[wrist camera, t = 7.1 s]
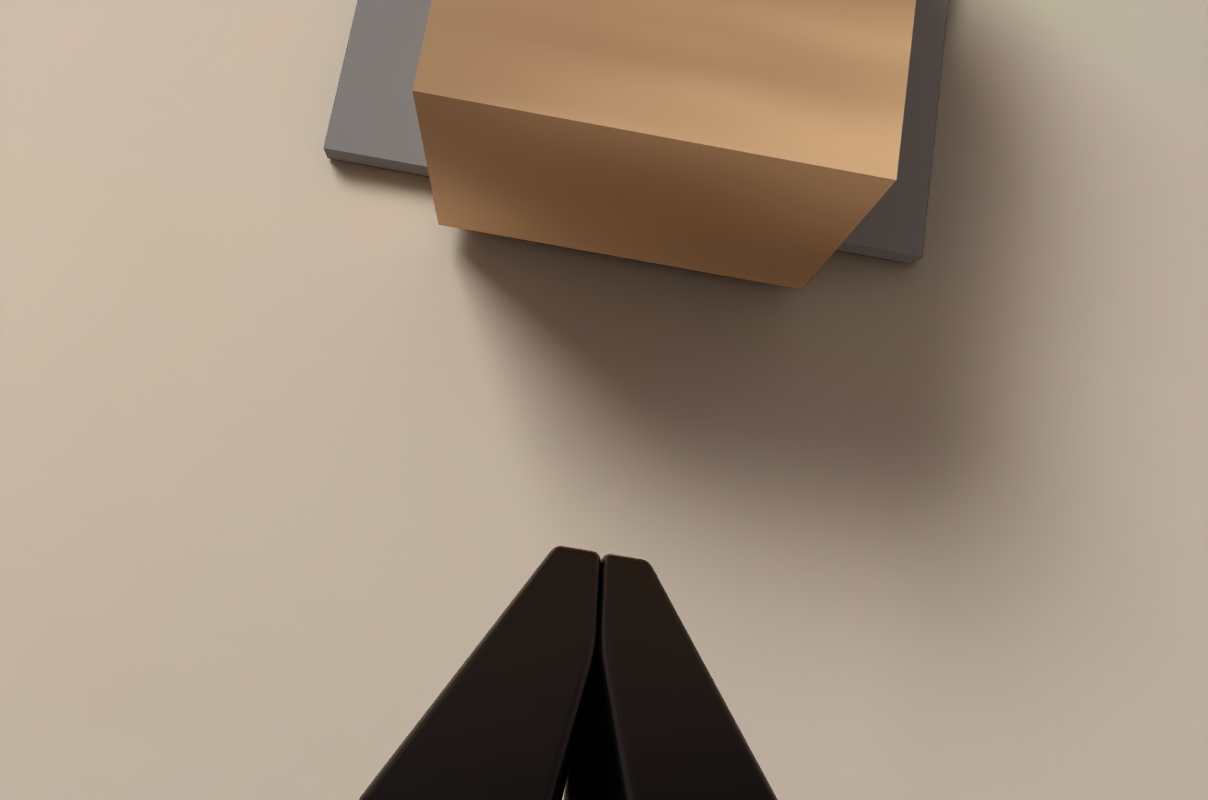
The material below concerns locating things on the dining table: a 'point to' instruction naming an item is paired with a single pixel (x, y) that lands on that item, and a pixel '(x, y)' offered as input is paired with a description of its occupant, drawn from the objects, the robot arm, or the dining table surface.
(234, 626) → the dining table surface
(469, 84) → the wooden block
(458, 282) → the dining table surface
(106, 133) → the dining table surface
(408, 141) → the mat
